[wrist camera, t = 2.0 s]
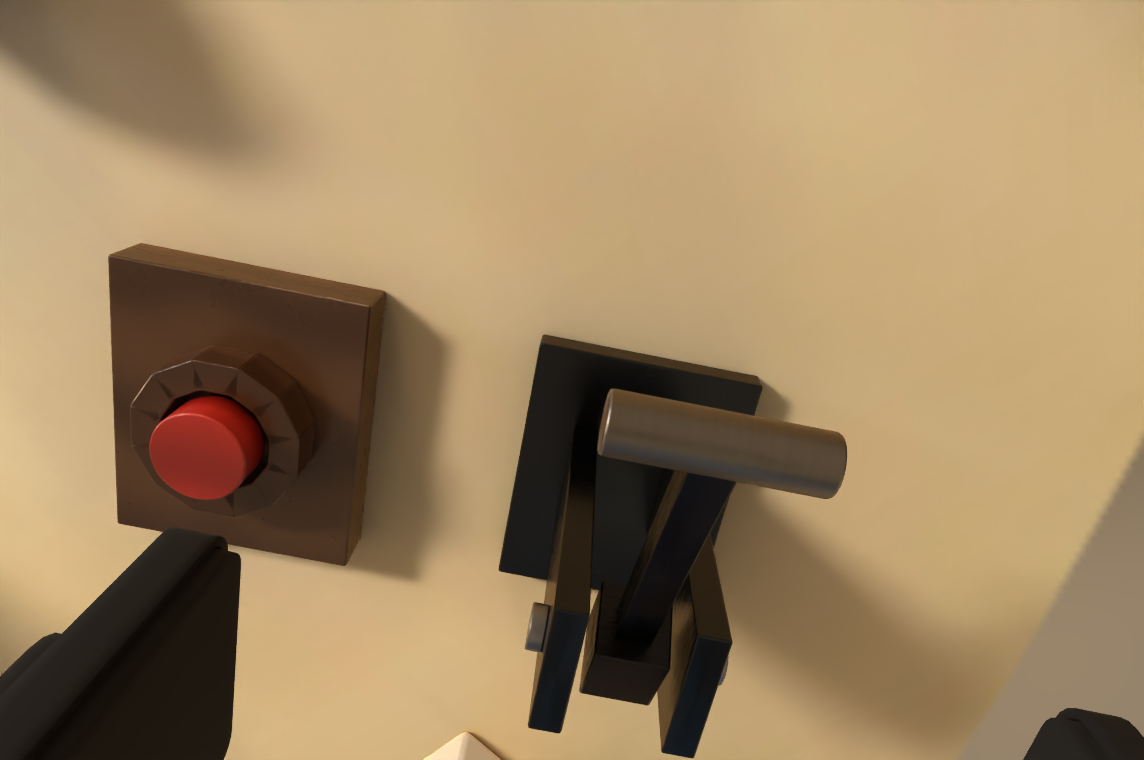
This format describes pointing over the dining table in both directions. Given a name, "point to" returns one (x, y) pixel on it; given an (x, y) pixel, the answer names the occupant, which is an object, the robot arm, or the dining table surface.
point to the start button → (206, 447)
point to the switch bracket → (610, 526)
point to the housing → (247, 394)
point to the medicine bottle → (463, 750)
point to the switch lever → (686, 518)
